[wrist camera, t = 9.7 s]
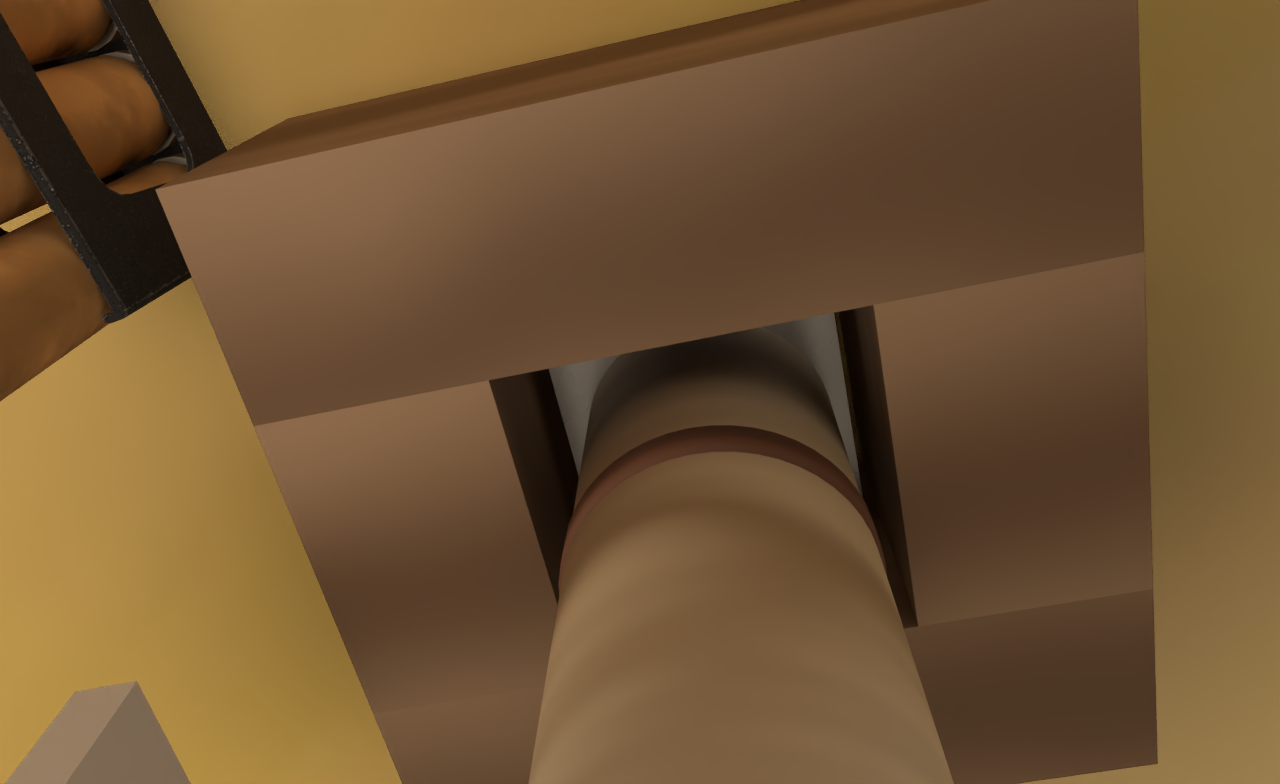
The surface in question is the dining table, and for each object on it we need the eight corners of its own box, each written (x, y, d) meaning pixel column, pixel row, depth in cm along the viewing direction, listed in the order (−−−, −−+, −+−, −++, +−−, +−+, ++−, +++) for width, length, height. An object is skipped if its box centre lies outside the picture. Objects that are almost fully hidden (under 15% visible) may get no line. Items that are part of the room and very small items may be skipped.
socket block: (287, 118, 18) (154, 189, 13) (1008, -48, 16) (1136, -33, 12) (484, 673, 23) (436, 865, 18) (1053, 581, 21) (1157, 763, 17)
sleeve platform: (542, 311, 17) (537, 329, 17) (820, 255, 17) (827, 270, 16) (607, 543, 19) (604, 568, 18) (859, 499, 19) (867, 523, 18)
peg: (616, 555, 18) (534, 1507, 7) (558, 341, 17) (341, 1160, 6) (851, 515, 18) (1136, 1469, 7) (815, 290, 16) (1113, 1077, 5)
